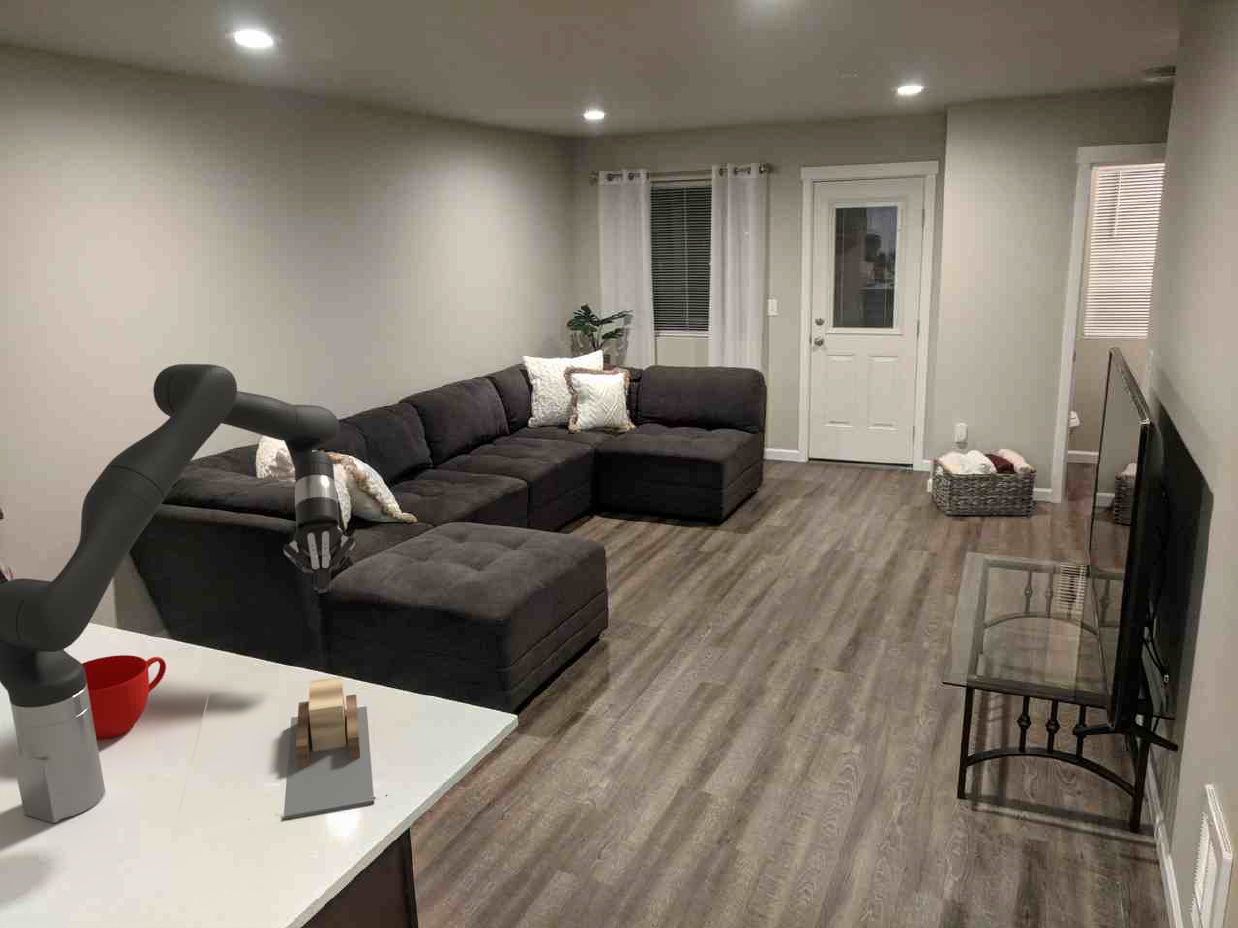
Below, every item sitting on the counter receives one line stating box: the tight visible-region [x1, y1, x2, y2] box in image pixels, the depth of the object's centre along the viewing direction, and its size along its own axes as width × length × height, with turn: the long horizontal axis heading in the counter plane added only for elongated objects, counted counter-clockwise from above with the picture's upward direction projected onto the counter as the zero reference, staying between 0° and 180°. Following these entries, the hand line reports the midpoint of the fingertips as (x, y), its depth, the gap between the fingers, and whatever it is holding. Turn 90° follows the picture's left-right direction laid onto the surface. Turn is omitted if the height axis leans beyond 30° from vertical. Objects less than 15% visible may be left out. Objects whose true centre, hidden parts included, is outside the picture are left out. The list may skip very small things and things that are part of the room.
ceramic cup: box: [81, 654, 167, 740], centre depth 153 cm, size 13×17×10 cm
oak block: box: [308, 676, 347, 752], centre depth 149 cm, size 10×5×7 cm, turn 17°
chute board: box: [283, 705, 375, 820], centre depth 143 cm, size 28×12×1 cm, turn 17°
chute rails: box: [296, 694, 360, 768], centre depth 148 cm, size 14×9×4 cm, turn 17°
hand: (322, 590), depth 166 cm, fingers closed
